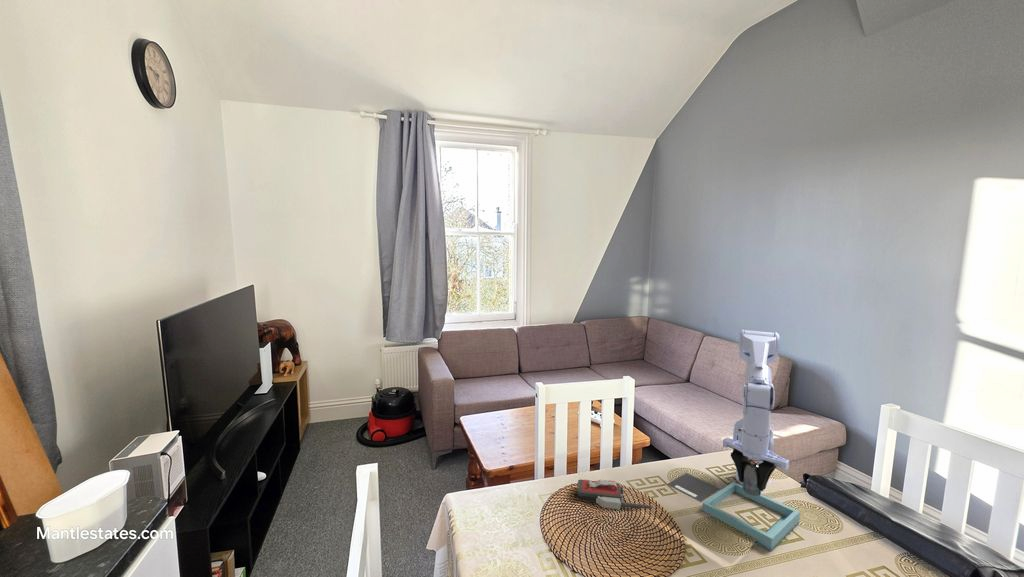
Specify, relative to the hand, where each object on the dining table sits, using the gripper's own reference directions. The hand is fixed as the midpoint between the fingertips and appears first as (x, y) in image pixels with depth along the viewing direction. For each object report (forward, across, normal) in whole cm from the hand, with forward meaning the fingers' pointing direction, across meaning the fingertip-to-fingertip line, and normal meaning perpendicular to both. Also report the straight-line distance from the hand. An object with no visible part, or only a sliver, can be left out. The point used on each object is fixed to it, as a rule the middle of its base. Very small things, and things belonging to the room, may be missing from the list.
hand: (752, 484), depth 102 cm
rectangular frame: (+9, 0, 0) cm, 9 cm away
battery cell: (+2, 0, 0) cm, 2 cm away
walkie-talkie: (+10, -26, -22) cm, 35 cm away
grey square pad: (+9, -15, 0) cm, 17 cm away
